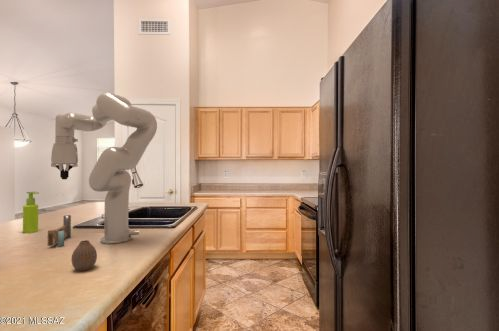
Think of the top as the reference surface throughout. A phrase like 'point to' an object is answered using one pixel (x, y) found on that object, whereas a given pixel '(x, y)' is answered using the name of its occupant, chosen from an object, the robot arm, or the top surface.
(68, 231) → the hinge post
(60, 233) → the post
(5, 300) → the top surface
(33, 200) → the soap dispenser
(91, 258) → the vase
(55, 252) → the top surface
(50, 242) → the gate
